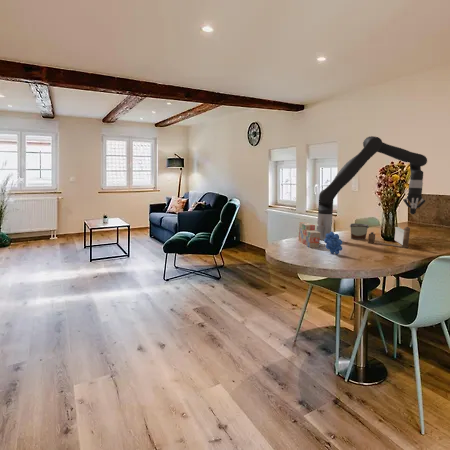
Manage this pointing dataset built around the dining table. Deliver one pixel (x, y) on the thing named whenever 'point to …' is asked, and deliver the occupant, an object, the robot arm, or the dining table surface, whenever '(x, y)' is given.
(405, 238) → the hinge post
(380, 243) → the sill
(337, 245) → the grapes
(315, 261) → the dining table surface
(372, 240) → the latch post
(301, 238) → the stack of blocks
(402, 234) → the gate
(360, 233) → the food container
